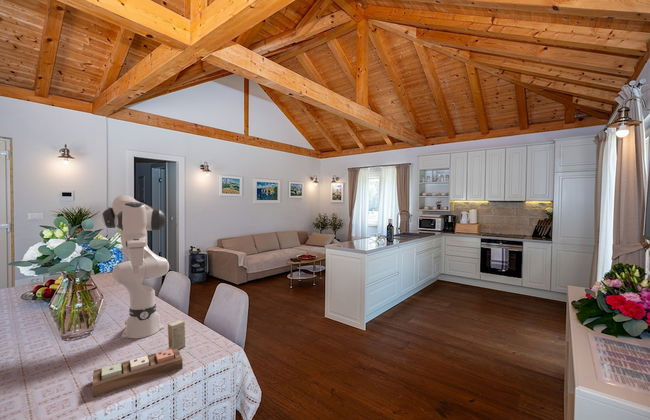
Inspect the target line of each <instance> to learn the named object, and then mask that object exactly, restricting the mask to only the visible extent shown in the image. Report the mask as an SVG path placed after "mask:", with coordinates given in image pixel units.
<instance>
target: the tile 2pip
mask: <svg viewBox="0 0 650 420" xmlns="http://www.w3.org/2000/svg"><path fill="white" fill-rule="evenodd" d="M136 358H137V359H136ZM136 358H133V359H130V372H131V371H134V370H138V369H141V368H144V367H148V366H149V360H148V356H147V355H144V357H143V356H141V357H136Z"/></svg>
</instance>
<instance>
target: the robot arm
mask: <svg viewBox="0 0 650 420" xmlns="http://www.w3.org/2000/svg"><path fill="white" fill-rule="evenodd" d="M101 222H102V223H103V225H104V226H105V227H106V228H108V229H115V228H117V229H118V230H119V231H120V232H119V233H120V241H121V246H122V249H123V252H124V255H125V257H126V258H128V259H129V260H128V261H127V260H126V261H123V262H120V263H117V264H116V265H115V266H114V267H113V269H112V273H111V276H112V278H113V279H112V280H114V282H116V283H118V284H120V285H122V286H123V287H124V288H125V289H126V290H127V292H128V295H129V303H130V304H129V305H130V307H129V310H128V314H129V315H128V318H127V319H125V321H124V325H125V328H124V329H123V332H122V334H121V338H123V339H125V338H127V339H128V338H129V339H141V338H142V339H143V338H145V337H150V336H152V335H155V334H156V333H158V332H159V331H161V330H162V329H164V325H163V324H162V323H161V320H160V317H161V316H160V313H159V312H157V303H156V291H155V289H154V288H153V287H151V286H148V285H145V284H143V281H145V280H152V279H156V278H160V277H162V276H165V275H166V274H168V272H169V270H170V264H169V260H167V259H166V258H165V257H162V256H159V255H158V254H156V253H155V252H153V251H152V250H151V249H150V247H149V246H148V231H153V232H154V231H155V232H156V231H160V230H162V229H163V227H165V225H166V215H165V213H164V211H162V210H161V209H159V208H157V209H156V208H154V207H153V206H150V205H148V204H145V203H143V202H140V201H139V200H136V199H135V198H134V197H133V196H130V195H128V194H120V195H118V196H116V197H115V198H114V199H113V201H112V205H111V207H110V206H109V207H108V208H106V209H105V210H104V211H102V215H101Z"/></svg>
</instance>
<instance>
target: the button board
mask: <svg viewBox="0 0 650 420" xmlns="http://www.w3.org/2000/svg"><path fill="white" fill-rule="evenodd" d="M162 351H163V350H162ZM162 351H160V352H162ZM172 351H173V353H174V359H171V360H168V361H164V362H161V363H158V364H156V353H157V352H155V353H151V354H148V355H146V356H148V360H149V366H148V367H144V368H141V369H138V370H134V371H131V372H130V360H131V359H130V360H127V361H123V362H119V363H121V369H122V374H121V375H118V376H114V377H111V378H108V379H104V380H102V368H103V367H101V368H97V369H94V370H93V373H92V374H93V375H92V398H95V397H99V396H101V395H104V394H107V393H110V392H113V391H117V390H120V389H122V388H126V387H129V386H132V385H135V384H138V383H142V382H145V381H148V380H151V379H155V378H157V377H161V376H164V375H167V374H169V373H173V372H176V371H179V370H182V369H183V368H184V367H183V357H182V355H181V353H180V350H179V349H177V347H176V348H172ZM144 356H145V355H144ZM144 356H142V357H144ZM137 358H138V357H136V358H135V359H137ZM119 363H117V364H119Z"/></svg>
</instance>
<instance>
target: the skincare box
mask: <svg viewBox="0 0 650 420" xmlns="http://www.w3.org/2000/svg"><path fill="white" fill-rule="evenodd" d="M185 325H186V324H185V321H184V320H182V319H178V320H175V321H172V322H169V323H167V337H168V350H169V349H172V348H176V347H177V349H178V350H179V349H182V348H185V347H186V330H185V329H186V326H185Z"/></svg>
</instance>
